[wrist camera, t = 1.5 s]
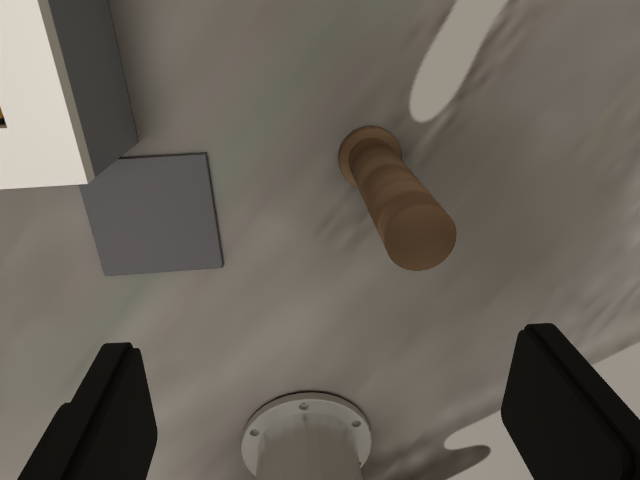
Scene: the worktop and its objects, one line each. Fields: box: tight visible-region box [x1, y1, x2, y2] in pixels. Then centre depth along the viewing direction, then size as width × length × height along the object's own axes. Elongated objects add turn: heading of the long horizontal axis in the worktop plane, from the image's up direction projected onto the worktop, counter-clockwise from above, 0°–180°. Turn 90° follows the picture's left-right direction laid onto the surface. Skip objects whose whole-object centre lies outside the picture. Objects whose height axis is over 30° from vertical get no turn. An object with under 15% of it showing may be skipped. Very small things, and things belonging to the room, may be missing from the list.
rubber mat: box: [79, 153, 223, 276], centre depth 34 cm, size 9×9×1 cm
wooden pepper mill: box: [338, 126, 456, 271], centre depth 27 cm, size 4×4×14 cm
